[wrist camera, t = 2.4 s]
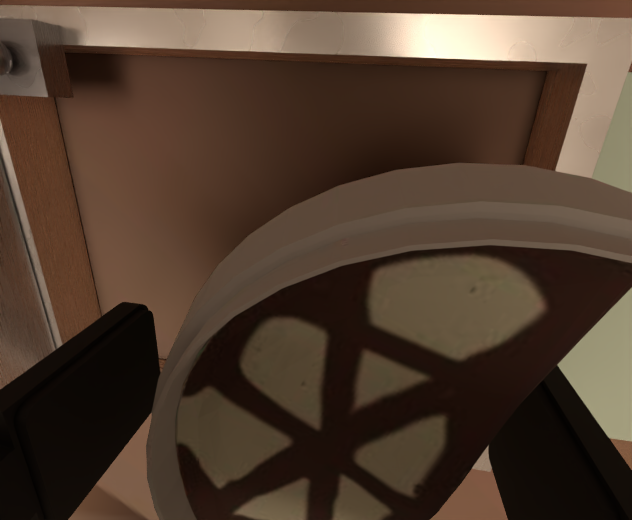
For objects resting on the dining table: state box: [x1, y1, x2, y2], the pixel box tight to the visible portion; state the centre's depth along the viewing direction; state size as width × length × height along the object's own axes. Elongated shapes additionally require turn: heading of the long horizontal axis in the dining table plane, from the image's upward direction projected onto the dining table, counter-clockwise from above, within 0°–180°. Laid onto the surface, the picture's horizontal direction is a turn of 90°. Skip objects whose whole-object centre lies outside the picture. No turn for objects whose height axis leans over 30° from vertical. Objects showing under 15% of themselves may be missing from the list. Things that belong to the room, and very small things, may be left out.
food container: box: [146, 163, 632, 520], centre depth 11 cm, size 12×6×10 cm, turn 156°
